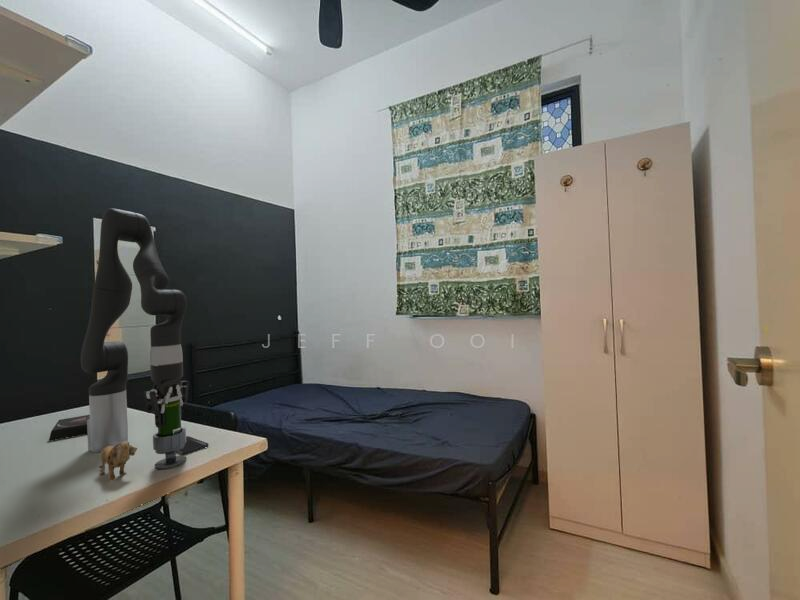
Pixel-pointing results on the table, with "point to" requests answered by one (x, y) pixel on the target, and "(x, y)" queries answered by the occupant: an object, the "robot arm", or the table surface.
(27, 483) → the table surface
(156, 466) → the cup bracket
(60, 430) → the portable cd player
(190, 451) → the phone
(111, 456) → the lion figurine
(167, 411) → the green drink can
